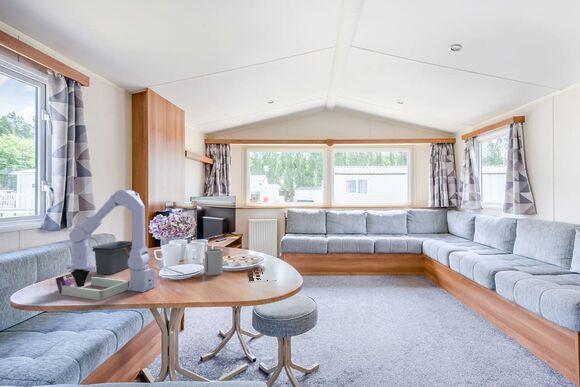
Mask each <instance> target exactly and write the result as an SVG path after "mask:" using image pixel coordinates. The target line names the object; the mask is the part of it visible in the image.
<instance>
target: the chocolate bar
mask: <svg viewBox="0 0 580 387" xmlns="http://www.w3.org/2000/svg"><path fill="white" fill-rule="evenodd" d="M255 271H259V270H258V268H254V272H255ZM261 271H262V269H261ZM247 272H248V274H247V278H248V277H249V281H254V278H253V272H252V269H249V270H247V269H246V273H247ZM255 274H259V272H255ZM262 274H263V272H262ZM256 277H260V275H256ZM256 279H257V280H259V279H260V278H256ZM260 280H261V279H260ZM249 281H248V282H249Z"/></svg>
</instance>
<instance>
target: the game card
mask: <svg viewBox="0 0 580 387" xmlns="http://www.w3.org/2000/svg"><path fill="white" fill-rule="evenodd" d="M72 277H73V275H72V274H71V273H67V274H65V275H62V276H59V277H56V278H55V282H56V286H57V289H58V292H59V294H62V286H64V285H65V286H71V285H72V284H73V280H74V281H75V278H74V277H73V279H72ZM65 278H66V279H65ZM74 287H77V284H76V281H75V285H74Z"/></svg>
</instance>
